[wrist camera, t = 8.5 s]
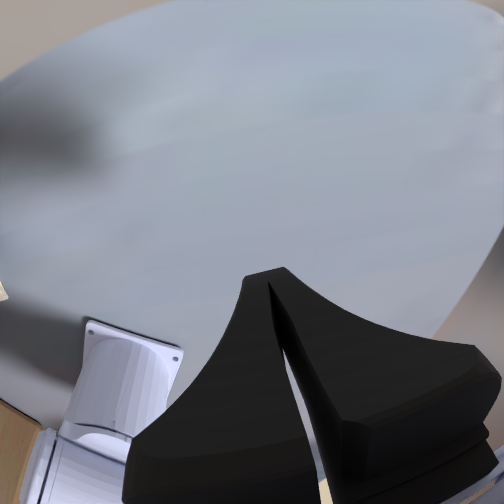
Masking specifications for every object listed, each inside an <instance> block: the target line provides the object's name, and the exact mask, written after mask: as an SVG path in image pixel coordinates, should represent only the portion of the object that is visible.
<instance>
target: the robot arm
mask: <svg viewBox="0 0 504 504" xmlns="http://www.w3.org/2000/svg"><path fill="white" fill-rule="evenodd" d="M90 330H92V331H93V332H92V331H90ZM283 350H284V352H285V355H286V357H287V360H288V362H289V365H290V367H291V370H292V372H293V375H294V377H295V380H296V382H297V385H298V387H299V389H300V392H301V394H302V397H303V399H304V402H305V405H306V408H307V410H308V414H309V417H310V421H311V424H312V428H313V431H314V435H315V438H316V442H317V445H318V449H319V453H320V456H321V460H322V464H323V467H324V471H325V475H326V478H327V482H328V486H329V489H330V493H331V497H332V501H333V504H459V503H461V502H463V501H464V500H466V499H468V498H469V497H471V496H473V495H474V494H476V493H477V492H479V491H480V490H482V489H483V488H485V487H486V486H488V485H489V484H491V483H492V482H494V481H495V480H496V479H497V480H496V482H495V484H494V486H493V487H492V488H490V489H489V490H488V491H486V492H485V493H484V494H482V495H481V496H479V497H478V498H476V499H475V500H473V501H472V502H471V503H469V504H504V445H503V446H502V447H501V448H499V449H498V450H496V451H495V452H493V451H492V449H491V448H490V446H489V444H488V443H487V441H486V440H485V439H487V438H488V436H489V431H488V430H487V428H486V427H485V425H484V424H483V421H484V420H485V418H486V416H487V415H488V413H489V411H490V410H491V408H492V406H493V404H494V402H495V401H496V399H497V396H498V394H499V392H500V389H501V380H502V378H501V376H500V374H499V373H498V371H497V370H496V369H495V368H494V366H493V365H492V364H491V363H490V361H489V360H488V359H487V358H486V357H485V356H484V355H483V354H482V353H481V351H479V349H478V348H476V347H475V345H469V344H459V343H452V342H445V341H437V340H432V339H427V338H423V337H419V336H414V335H410V334H406V333H403V332H399V331H396V330H393V329H390V328H387V327H384V326H381V325H378V324H375V323H373V322H370V321H368V320H365V319H363V318H361V317H359V316H357V315H355V314H352V313H350V312H348V311H346V310H344V309H342V308H340V307H339V306H337V305H335V304H334V303H332V302H330V301H329V300H327V299H326V298H324V297H323V296H321V295H320V294H318V293H317V292H315V291H314V290H313V289H311V288H310V287H308V286H307V285H306V284H304V283H303V282H302V281H301V280H299V279H298V278H297V277H296V276H294V275H293V274H292V273H291V272H290V271H289V270H288V269H286V268H285V267H280V268H276V269H272V270H268V271H264V272H260V273H256V274H252V275H248V276H245V277H244V279H243V281H242V287H241V291H240V295H239V298H238V301H237V304H236V307H235V310H234V312H233V315H232V317H231V320H230V322H229V324H228V326H227V328H226V330H225V333H224V335H223V337H222V338H221V340H220V342H219V344H218V346H217V347H216V349H215V351H214V352H213V354H212V356H211V357H210V359H209V360H208V362H207V363H206V365H205V366H204V367H203V369H202V370H201V372H200V373H199V374H198V376H197V377H196V378H195V380H194V381H193V382H192V383H191V385H190V386H189V387H188V388H187V389H186V390H185V391H184V392H183V394H182V395H181V396H180V397H179V398H178V399H177V400H176V401H175V402H174V403H173V404H172V405H171V406H170V407H169V408H168V409H167V410H166V402H167V397H168V394H169V392H170V389H171V386H172V384H173V381H174V379H175V376H176V373H177V371H178V368H179V366H180V363H181V360H182V358H183V350H182V349H181V348H179V347H175V346H172V345H168V344H165V343H161V342H158V341H154V340H151V339H148V338H145V337H141V336H138V335H135V334H132V333H129V332H126V331H123V330H120V329H117V328H114V327H111V326H108V325H105V324H102V323H99V322H97V321H94V320H89V321H88V322H87V324H86V329H85V339H84V351H83V365H82V370H81V372H80V375H79V377H78V380H77V383H76V385H75V388H74V391H73V394H72V396H71V399H70V402H69V405H68V408H67V410H66V413H65V416H64V419H63V422H62V425H61V427H60V429H59V431H58V434H57V436H56V431H54V430H53V429H51V428H47V430H43V431H40V432H39V433H38V436H37V438H36V441H35V444H34V447H33V450H32V453H31V456H30V459H29V462H28V465H27V469H26V472H25V476H24V480H23V483H22V487H21V491H20V496H19V501H20V504H321V500H320V492H319V485H318V478H317V471H316V466H315V462H314V459H313V455H312V452H311V448H310V444H309V441H308V437H307V434H306V431H305V428H304V425H303V422H302V419H301V416H300V413H299V410H298V407H297V403H296V400H295V397H294V394H293V391H292V388H291V384H290V381H289V378H288V375H287V371H286V367H285V360H284V354H283ZM174 357H178V358H174Z"/></svg>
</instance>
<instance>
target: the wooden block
mask: <svg viewBox="0 0 504 504" xmlns="http://www.w3.org/2000/svg"><path fill="white" fill-rule="evenodd" d="M40 431H43V429H42V426H41V425H40V424H39V423H38V422H36V421H34V420H32V419H31V418H29V417H27V416H25V415H24V414H22V413H20V412H19V411H17V410H16V409H14V408H12V407H11V406H9V405H8V404H6V403H5V402H3V401H1V400H0V504H20V501H19V496H20V491H21V487H22V483H23V480H24V476H25V472H26V469H27V465H28V462H29V459H30V456H31V453H32V450H33V447H34V444H35V441H36V438H37V436H38V433H39V432H40Z"/></svg>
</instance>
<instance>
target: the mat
mask: <svg viewBox="0 0 504 504" xmlns="http://www.w3.org/2000/svg"><path fill="white" fill-rule="evenodd" d="M8 298H9V297H8V295H7V294H6V292H5V290H4V288H3V286H2V284H1V282H0V301H3V300H7V299H8Z"/></svg>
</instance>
